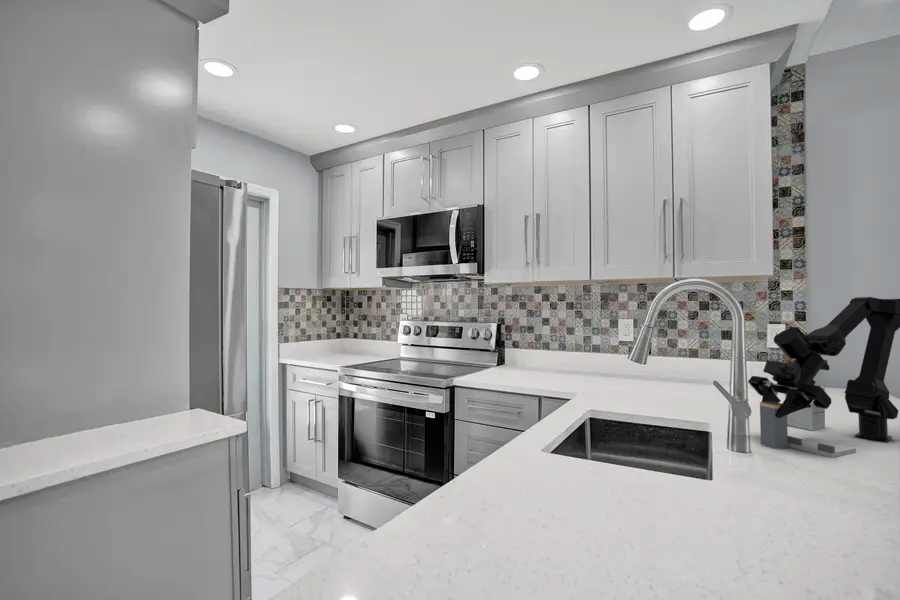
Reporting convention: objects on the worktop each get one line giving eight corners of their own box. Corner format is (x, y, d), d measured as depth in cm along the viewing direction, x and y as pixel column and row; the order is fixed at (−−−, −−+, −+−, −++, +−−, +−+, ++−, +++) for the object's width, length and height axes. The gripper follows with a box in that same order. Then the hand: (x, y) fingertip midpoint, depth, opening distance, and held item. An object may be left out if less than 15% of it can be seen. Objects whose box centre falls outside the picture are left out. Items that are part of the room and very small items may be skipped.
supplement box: (784, 425, 134) (783, 384, 135) (798, 422, 137) (797, 382, 138) (812, 431, 128) (811, 387, 128) (826, 428, 131) (825, 385, 131)
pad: (809, 441, 117) (809, 432, 117) (855, 452, 108) (855, 442, 108) (786, 446, 113) (786, 436, 114) (832, 457, 104) (832, 447, 104)
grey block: (773, 443, 116) (772, 401, 116) (788, 447, 112) (786, 404, 112) (760, 444, 115) (759, 402, 115) (775, 448, 111) (773, 405, 112)
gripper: (752, 347, 124) (720, 387, 122) (820, 353, 106) (784, 400, 103) (776, 374, 126) (745, 414, 123) (847, 384, 107) (812, 432, 105)
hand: (768, 414), depth 114 cm, fingers closed on grey block, 4 cm apart
